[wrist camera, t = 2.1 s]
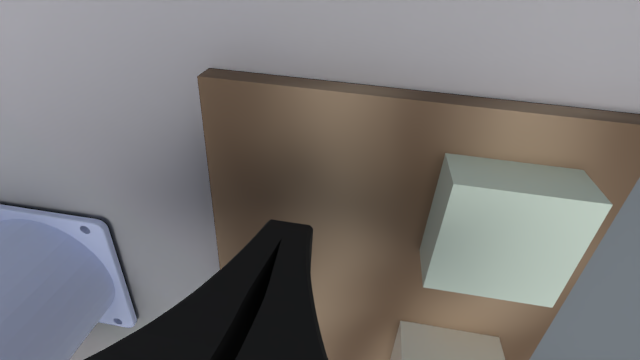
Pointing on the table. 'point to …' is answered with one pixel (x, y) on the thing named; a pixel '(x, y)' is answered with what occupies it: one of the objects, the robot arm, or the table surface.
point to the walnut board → (388, 191)
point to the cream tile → (443, 344)
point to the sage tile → (508, 228)
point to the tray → (603, 298)
